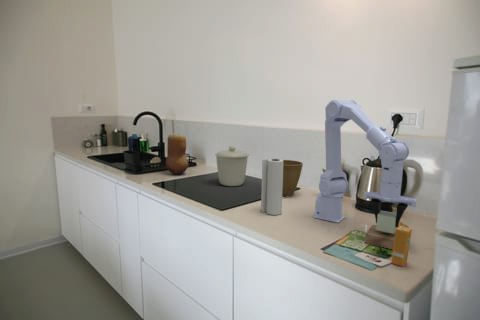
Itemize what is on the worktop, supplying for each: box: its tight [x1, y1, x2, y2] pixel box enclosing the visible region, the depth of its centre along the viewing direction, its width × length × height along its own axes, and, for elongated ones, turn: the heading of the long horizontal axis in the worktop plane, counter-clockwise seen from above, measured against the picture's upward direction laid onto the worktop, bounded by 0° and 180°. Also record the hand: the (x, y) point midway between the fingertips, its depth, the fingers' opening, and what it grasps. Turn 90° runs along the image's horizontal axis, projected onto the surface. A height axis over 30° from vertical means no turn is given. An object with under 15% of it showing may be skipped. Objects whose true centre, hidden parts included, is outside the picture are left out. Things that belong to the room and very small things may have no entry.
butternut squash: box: [165, 133, 189, 176], centre depth 193 cm, size 14×13×25 cm
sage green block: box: [376, 210, 397, 234], centre depth 98 cm, size 5×5×5 cm
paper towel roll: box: [260, 158, 284, 216], centre depth 123 cm, size 7×6×21 cm
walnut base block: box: [364, 224, 396, 251], centre depth 99 cm, size 10×10×3 cm
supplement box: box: [390, 226, 412, 268], centre depth 84 cm, size 3×3×10 cm
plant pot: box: [282, 159, 304, 197], centre depth 150 cm, size 15×15×16 cm
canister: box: [214, 145, 250, 187], centre depth 169 cm, size 18×18×21 cm
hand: (386, 224), depth 98 cm, fingers closed on sage green block, 5 cm apart
